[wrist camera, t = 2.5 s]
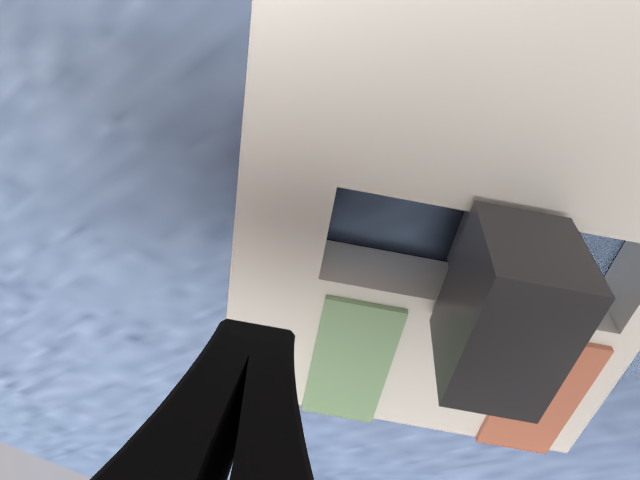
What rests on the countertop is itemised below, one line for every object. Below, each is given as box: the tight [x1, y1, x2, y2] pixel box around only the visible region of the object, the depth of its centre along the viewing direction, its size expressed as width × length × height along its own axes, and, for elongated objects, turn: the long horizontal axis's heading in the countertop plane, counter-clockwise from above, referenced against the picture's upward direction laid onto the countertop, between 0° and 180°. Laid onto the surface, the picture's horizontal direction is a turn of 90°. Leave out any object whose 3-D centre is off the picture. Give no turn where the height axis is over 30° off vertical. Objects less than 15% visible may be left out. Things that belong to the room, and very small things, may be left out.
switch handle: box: [429, 200, 616, 424], centre depth 14 cm, size 2×4×5 cm, turn 171°
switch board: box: [226, 0, 640, 454], centre depth 15 cm, size 12×14×2 cm
